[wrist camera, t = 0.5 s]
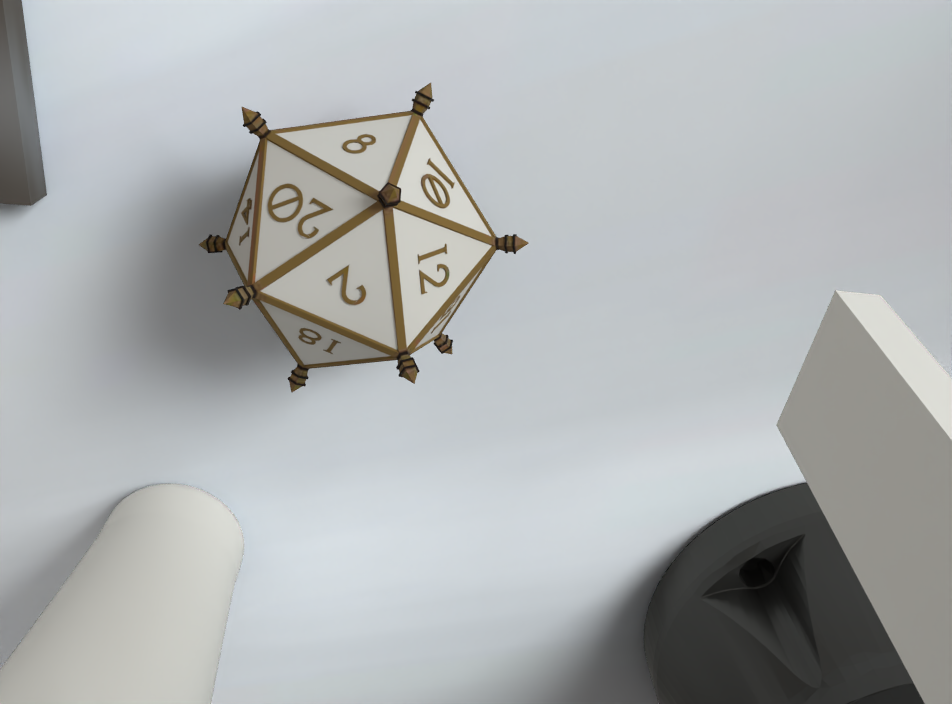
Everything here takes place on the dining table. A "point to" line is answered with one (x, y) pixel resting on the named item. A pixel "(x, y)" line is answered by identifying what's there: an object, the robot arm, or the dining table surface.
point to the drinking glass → (137, 608)
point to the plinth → (17, 114)
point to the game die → (356, 239)
